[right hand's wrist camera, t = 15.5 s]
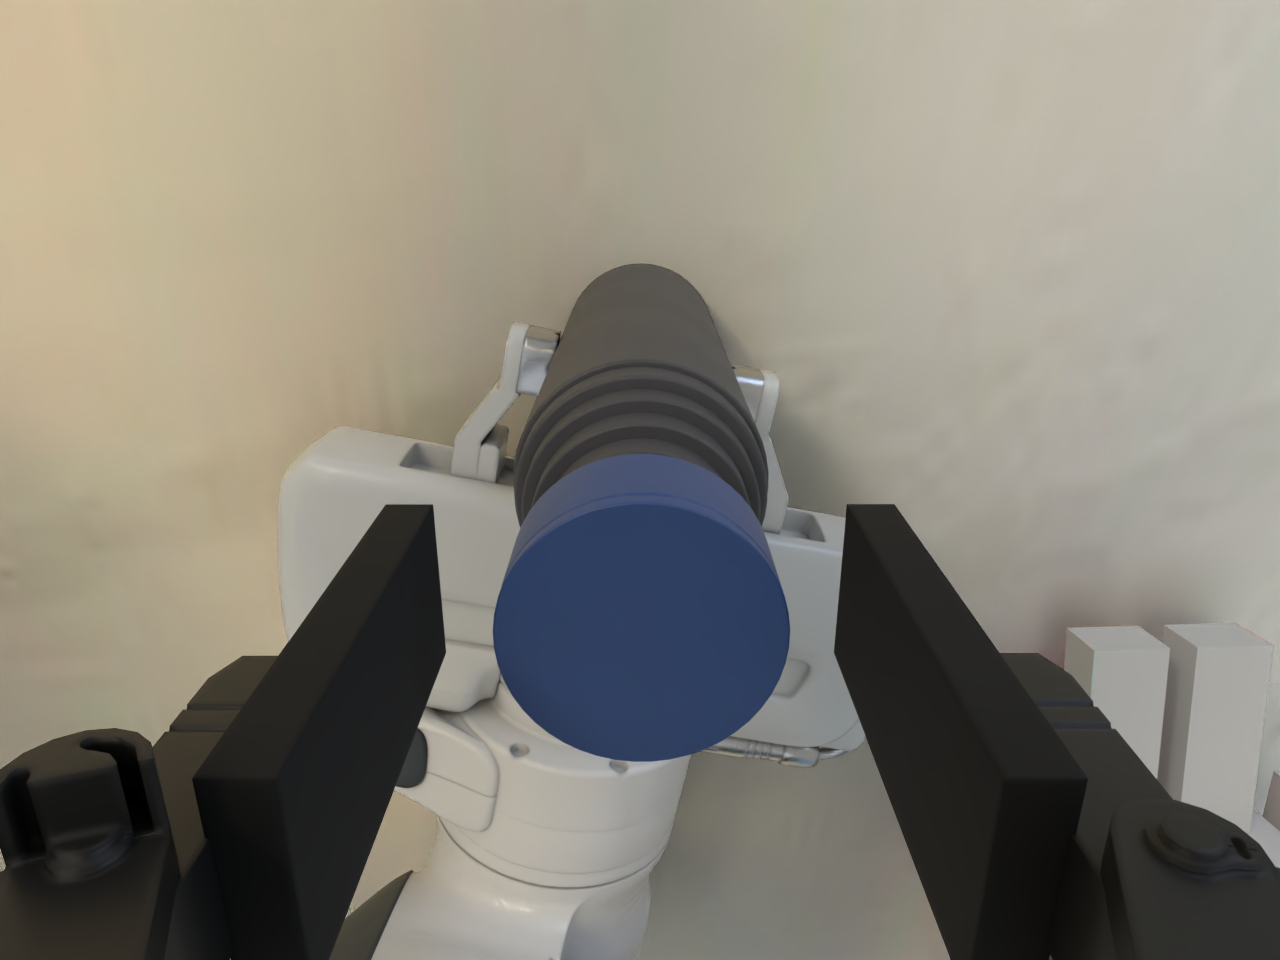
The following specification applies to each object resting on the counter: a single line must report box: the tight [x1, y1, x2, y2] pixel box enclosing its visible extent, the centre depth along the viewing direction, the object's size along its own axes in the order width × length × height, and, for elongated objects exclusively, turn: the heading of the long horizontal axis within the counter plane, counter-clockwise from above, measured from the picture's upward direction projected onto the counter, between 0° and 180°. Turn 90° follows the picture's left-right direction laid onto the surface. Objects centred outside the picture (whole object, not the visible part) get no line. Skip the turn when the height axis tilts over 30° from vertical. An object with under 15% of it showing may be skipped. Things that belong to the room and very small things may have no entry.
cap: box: [493, 454, 790, 762], centre depth 14 cm, size 4×4×2 cm
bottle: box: [513, 264, 769, 528], centre depth 23 cm, size 5×5×21 cm
